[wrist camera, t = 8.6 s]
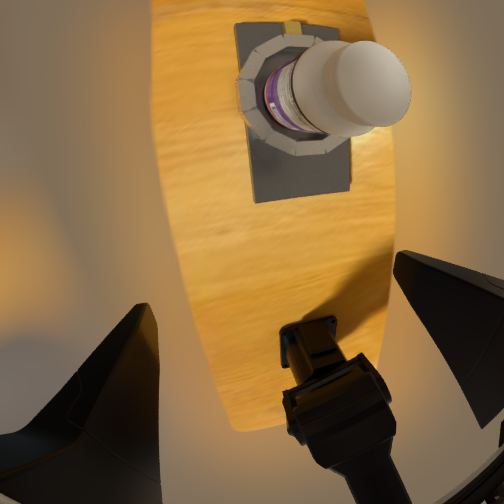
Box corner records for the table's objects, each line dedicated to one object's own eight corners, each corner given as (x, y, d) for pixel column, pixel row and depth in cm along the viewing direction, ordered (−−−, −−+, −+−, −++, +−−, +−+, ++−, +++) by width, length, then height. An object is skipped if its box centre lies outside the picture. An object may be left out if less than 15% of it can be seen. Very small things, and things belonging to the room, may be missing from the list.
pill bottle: (330, 66, 16) (418, 44, 8) (332, 132, 19) (421, 148, 10) (260, 61, 15) (316, 14, 7) (263, 131, 18) (322, 140, 9)
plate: (344, 188, 22) (349, 191, 21) (253, 200, 21) (255, 203, 20) (333, 31, 15) (337, 28, 15) (233, 27, 14) (235, 23, 14)
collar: (354, 149, 20) (364, 152, 18) (243, 158, 19) (247, 161, 17) (342, 29, 15) (352, 24, 13) (228, 24, 14) (230, 16, 12)
